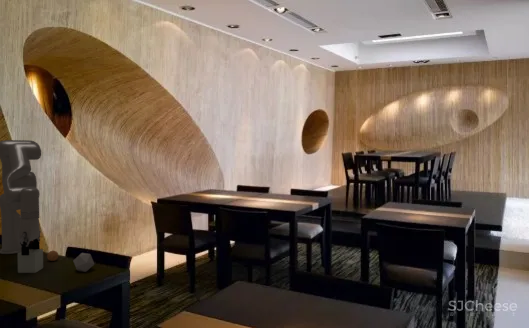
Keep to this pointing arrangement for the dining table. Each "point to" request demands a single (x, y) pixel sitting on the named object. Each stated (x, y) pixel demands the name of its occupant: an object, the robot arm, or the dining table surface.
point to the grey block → (30, 261)
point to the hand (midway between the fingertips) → (30, 252)
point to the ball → (52, 255)
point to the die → (83, 262)
